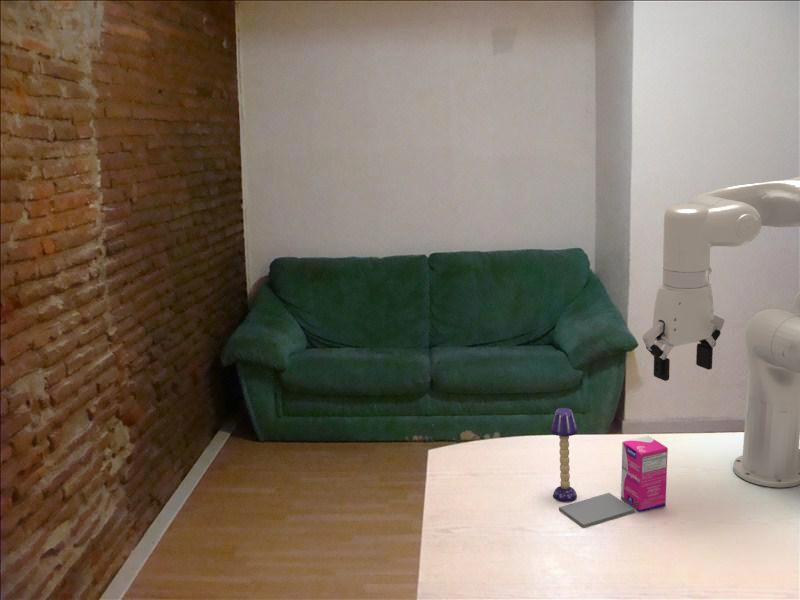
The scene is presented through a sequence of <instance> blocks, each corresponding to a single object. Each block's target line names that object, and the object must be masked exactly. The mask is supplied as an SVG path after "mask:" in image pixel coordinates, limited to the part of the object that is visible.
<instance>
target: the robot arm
mask: <svg viewBox="0 0 800 600" xmlns="http://www.w3.org/2000/svg"><path fill="white" fill-rule="evenodd" d="M762 227H771V228H773V227H774V228H800V176H796V177H791V178H787V179H783V180H771V181H765V182H758V183H750V184H743V185H734V186H728V187H724V188H719V189H716V190H715V189H714V190H713V191H708V192H704V193H701V194H699V195H696V196H695V197H693V198H692V199H691V200H689V201H688V202H687V203H681V204H675V205H671V206H669V207H668V208H666V210H665V211H664V215H663V248H662V249H663V251H662V252H663V253H662V254H663V255H662V257H663V258H662V283H661V285H660V286H658V289H657V292H656V296H655V301H654V307H653V315H652V316H653V317H652V318H653V319H652V327H651V328H650V329H648V330H647V331H646V332H645V333H644V334H643V335H642V340H643V343H644V344H645V348H646V350H647V351H648V352H650V355H652V356H653V377H655V378H656V379H659V380H662V381H664V382H667V381H669V380H670V363H671V362H670V358H668V355H669V354H670V352H671V351H672V349H673V348H674V347H679V346H684V345H687V344H691V343H696V342H699V343H697V345H696V358H695V360H696V361H695V364H696V366H697V367H701V368H703V369H705V370H712V368H713V354H714V353H713V351H714V350H713V349H714V348H715V347H716V346H717V340H718V338H719V337H720V335H721V333H722V332H721V331H722V329H723V326H724V324H725V319H724V318H722V317H719V316H718V315H715V313H714V299H713V291H712V286H711V285H712V284H711V283H710V275H711V274H712V272H713V271H712V268H711V266H710V264H711V248H713V247H728V248H729V247H731V248H732V247H733V248H735V247H741V246H742V247H743V246H744V245H747V244H749V243H751V242H753V241H754V240H755V239H756V237H758V235H759V234H760V232H761V230H762V229H761V228H762ZM793 309H794V311H795V313H793V312H790V311H787V310H783V309H777V308H768V309H763V310H761V311H759V312H757V313H755V315H754V316H752V317H751V319H749V322H748V324H747V326H746V328H745V329H746V330H745V337H744V338H745V339H744V342H745V343H744V344H745V349H746V357H747V365H748V366H747V369H748V371H747V372H748V373H747V391H746V392H747V393H746V405H745V416H744V417H745V419H744V433H743V445H742V455H740V456H738V457H736V458H735V459H734V461H733V463H732V464H733V465H732V466H733V467H732V469H733V472H734V473H735V474H736V475H737V476H738V477H740V478H741V479H742V480H745V481H747V482H749V483H752V484H755V485H758V486H762V487H769V488H770V487H771V488H791V487H795V486H798V485H800V289H799V290H798V292H797V293H796V295H795V296H794V300H793ZM663 346H664V347H663ZM662 347H663V348H662Z"/></svg>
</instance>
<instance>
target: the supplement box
mask: <svg viewBox="0 0 800 600" xmlns="http://www.w3.org/2000/svg"><path fill="white" fill-rule="evenodd" d="M621 444H622V446H621V476H620V477H621V482H620V483H621V484H620V485H621V486H620V498H621V499H620V500H622V501H623V502H625V503H626V504H628V505H629V506H631V507H632V508H634V509H635V511H637V512H638V513H643V512H646V511H650V510H656V509H660V508H664V507H665V508H666V505H667V503H666V502H667V477H668V475H667V474H668V472H667V471H668V451H669V450H668V449H669V448H668V447H667V446H666V445H664V444H662V443H661V442H659V441H657V440H656V439H654V438H653V437H652V436H650V435H645V436H644V435H643V436H640V437H636V438H632V439H627V440H624V441H622V442H621Z"/></svg>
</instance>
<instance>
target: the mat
mask: <svg viewBox="0 0 800 600" xmlns="http://www.w3.org/2000/svg"><path fill="white" fill-rule="evenodd" d="M558 511H559V512H561V513H562V514H563V515H565V516H566V517H568V518H569V519H571V520H572V521H573V522H574V523H576V524H577V525H579V526H580V527H582V528H583V529H585V528H589V527H592V526H595V525H598V524H601V523H604V522H608V521H611V520H614V519H618V518H620V517H624V516H627V515H630V514H634V513H636V509H635V508H634V507H632V506H631V505H630V504H628V503H627V502H626V501H624V500H622V499H619V498H618V497H617V496H615V495H614V494H612V493H610V492H607V493H603V494H600V495H597V496H594V497H589V498H586V499H583V500H579V501H576V502H572V503H568V504H565V505H561V506H559V507H558Z"/></svg>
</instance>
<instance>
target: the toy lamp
mask: <svg viewBox="0 0 800 600" xmlns="http://www.w3.org/2000/svg"><path fill="white" fill-rule="evenodd" d="M550 432H551V433H552V434H553V435H554V436H558V438H559V455H560V456H559V464H560V465H559V471H560V474H559V477H560V482H559V483H560V484H559V485H560V486H559V485H558V486H557V487H556V488H555V489H554V491H553V494H552V496H553V499H554V500H556V501H558V502H561V503H571V502H574V501H576V500H577V497H578V496H577V492H576V490H575V489H574V488H573V487H571V483H570V478H571V474H570V471H571V470H570V457H569V455H570V449H569V447H570V442H569V439H570V437H571V436H574V435H576V434H577V433H578V425H577V422H576V419H575V416H574V411H573V410H572V409H570V408H566V407H560V408H557V409H555V412H554V416H553V419H552V422H551V428H550Z"/></svg>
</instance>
